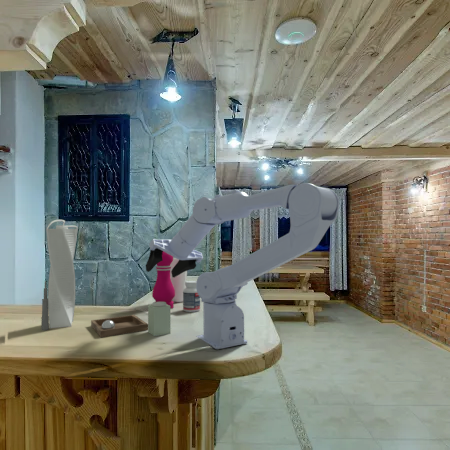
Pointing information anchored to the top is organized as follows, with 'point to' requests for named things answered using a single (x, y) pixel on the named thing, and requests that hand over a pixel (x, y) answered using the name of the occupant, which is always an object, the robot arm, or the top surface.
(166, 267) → the pepper mill
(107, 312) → the top surface
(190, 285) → the pill bottle
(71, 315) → the skyscraper
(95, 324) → the tray
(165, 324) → the spice tin
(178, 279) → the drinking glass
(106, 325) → the steel ball
